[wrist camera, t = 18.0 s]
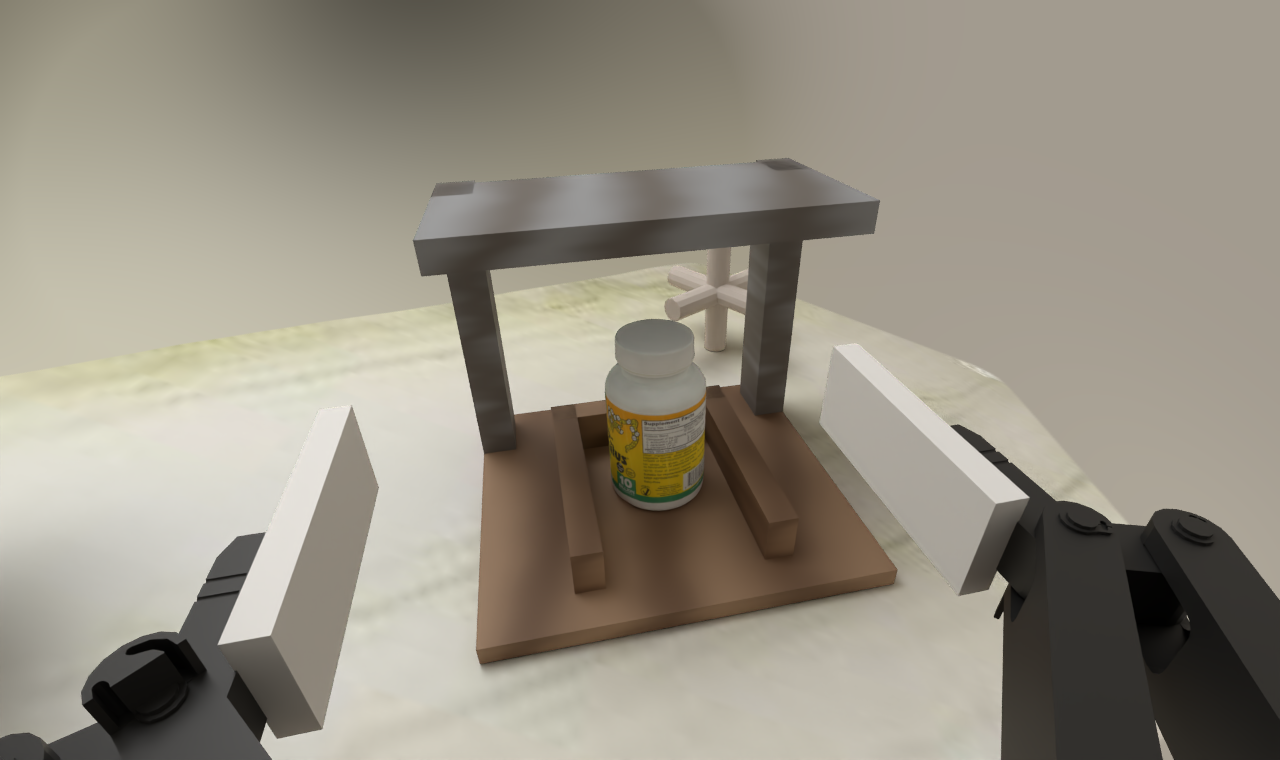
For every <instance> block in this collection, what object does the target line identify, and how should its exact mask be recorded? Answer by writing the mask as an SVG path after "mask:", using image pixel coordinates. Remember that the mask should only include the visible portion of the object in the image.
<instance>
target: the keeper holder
mask: <svg viewBox="0 0 1280 760" xmlns="http://www.w3.org/2000/svg"><path fill="white" fill-rule="evenodd" d="M879 203H880V200H878V199H876V198H874V197H871V196H869V195H867V194H865V193H863V192H861V191H859V190H856V189H854V188H852V187H850V186H848V185H845V184H843V183H841V182H839V181H837V180H835V179H833V178H830V177H828V176H826V175H824V174H822V173H820V172H818V171H815V170H813V169H811V168H809V167H807V166H805V165H802V164H800V163H798V162H796V161H794V160H792V159H789V158H782V159H769V160H756V162H753V163H739V164H725V165H711V166H698V167H684V168H670V169H657V170H644V171H643V170H642V171H629V172H615V173H601V174H587V175H574V176H561V177H560V176H559V177H546V178H532V179H519V180H504V181H490V182H477V183H475V181H462V182H448V183H437V184H436V186H435V188H434V191H433V193H432V196H431V198H430V200H429V203H428V205H427V208H426V210H425V213H424V215H423V217H422V220H421V223H420V225H419V227H418V230H417V232H416V234H415V237H414V239H413V242H414V247H415V251H416V255H417V259H418V264H419V268H420V273H421V276H431V275H441V274H447V277H448V282H449V287H450V291H451V296H452V301H453V306H454V311H455V315H456V320H457V325H458V330H459V335H460V340H461V344H462V349H463V354H464V359H465V364H466V368H467V373H468V378H469V383H470V388H471V393H472V397H473V402H474V407H475V412H476V417H477V422H478V426H479V431H480V436H481V441H482V446H483V450H484V471H483V495H482V519H481V544H480V568H479V592H478V617H477V641H476V651H477V655H478V659H479V662H480V664H483V663H488V662H493V661H499V660H504V659H509V658H514V657H519V656H524V655H529V654H535V653H540V652H545V651H550V650H555V649H560V648H565V647H571V646H576V645H581V644H586V643H591V642H596V641H601V640H607V639H612V638H617V637H622V636H627V635H632V634H637V633H643V632H648V631H653V630H658V629H663V628H668V627H674V626H679V625H684V624H689V623H694V622H699V621H704V620H710V619H715V618H720V617H725V616H730V615H735V614H740V613H746V612H751V611H756V610H761V609H766V608H771V607H776V606H782V605H787V604H792V603H797V602H802V601H807V600H812V599H818V598H823V597H828V596H833V595H838V594H843V593H848V592H854V591H859V590H864V589H869V588H874V587H879V586H885V585H890V584H894V580H895V577H896V573H897V568H896V567H895V566H894V564H893V563H892V562H891V560H890V559H889V557H888V556H887V555H886V553H885V552H884V550H883V549H882V548H881V546H880V545H879V544H878V542H877V541H876V539H875V538H874V537H873V535H872V534H871V533H870V531H869V530H868V528H867V527H866V526H865V524H864V523H863V522H862V520H861V519H860V517H859V516H858V515H857V513H856V512H855V511H854V509H853V508H852V506H851V505H850V504H849V502H848V501H847V500H846V498H845V497H844V495H843V494H842V493H841V491H840V490H839V489H838V487H837V486H836V484H835V483H834V482H833V480H832V479H831V478H830V476H829V475H828V473H827V472H826V471H825V469H824V468H823V467H822V465H821V464H820V462H819V461H818V460H817V458H816V457H815V456H814V454H813V453H812V451H811V450H810V449H809V447H808V446H807V444H806V443H805V442H804V440H803V439H802V438H801V436H800V435H799V433H798V432H797V431H796V429H795V428H794V427H793V425H792V424H791V422H790V421H789V420H788V418H787V417H786V416H785V414H784V413H783V404H784V396H785V387H786V379H787V370H788V361H789V353H790V344H791V336H792V327H793V319H794V310H795V301H796V293H797V284H798V276H799V267H800V258H801V249H802V241H803V240H810V239H821V238H832V237H843V236H853V235H864V234H874V231H875V225H876V220H877V214H878V208H879ZM747 245H750V256H749V270H748V284H747V299H746V313H745V327H744V342H743V356H742V370H741V384H740V385H735V386H728V387H720V386H719V385H716V386H708V387H706V414H705V440H704V475H703V483H702V487H701V489H700V490H699V492H698V494H697V495H696V496H695V497H694V498H693V499H692V500H691V501H689V502H688V503H686V504H684V505H682V506H680V507H677V508H674V509H670V510H662V511H652V510H645V509H641V508H638V507H636V506H633V505H632V504H630V503H628V502H627V501H625V500H624V499H623V498H621V497H620V496H619V495H618V494H617V492H616V491H615V489H614V487H613V484H612V478H611V466H610V453H609V437H608V424H607V410H606V400H602V401H595V402H587V403H579V404H572V405H564V406H557V407H551V410H546V411H539V412H531V413H524V414H516V415H514V412H513V406H512V400H511V394H510V388H509V382H508V376H507V370H506V364H505V358H504V352H503V346H502V340H501V334H500V328H499V322H498V316H497V310H496V304H495V298H494V292H493V287H492V280H491V274H490V270H495V269H505V268H516V267H526V266H536V265H547V264H558V263H568V262H579V261H590V260H600V259H611V258H621V257H632V256H642V255H652V254H663V253H674V252H684V251H695V250H706V249H716V248H727V247H737V246H747Z"/></svg>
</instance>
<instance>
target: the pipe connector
mask: <svg viewBox="0 0 1280 760" xmlns="http://www.w3.org/2000/svg"><path fill="white" fill-rule="evenodd" d="M707 252H708V253H707V275H704V274H701V273H699V272H696V271H693V270H690V269H688V268H685V267H682V266H679V265H675V266H673V267H672V268H671V269H670V271H669V272H668V277H667V278H668V283H669V284H671V285H672V286H675V287H677V288H680V289H682V290H685V291H687V292H685V293H683V294H680V295H677V296H675V297H672V298H669V299H668V300H667V301H666V302H665V306H664V307H665V312H666V314H667V316H668V318H670V319H671V320H672V321H678V320H680V319H683V318H685V317H688V316H690V315H693V314H695V313H698V312H700V311H702V310H705V309H706V311H705V341H704V347H705V348H706V349H707V350H709V351H722V350H724V349H725V347H726V330H727V312H728V308H729V309H732V310H734V311H737V312H739V313H742V314H744V315H745V313H746V299H747V284H748V270H749V269H746V270H744V271H741V272H738V273H736V274H733V275H730V276H729V274H730V256H731V247H727V248H716V249H708V250H707Z"/></svg>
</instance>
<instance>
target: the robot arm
mask: <svg viewBox="0 0 1280 760" xmlns="http://www.w3.org/2000/svg"><path fill="white" fill-rule="evenodd" d="M819 424H820V425H821V426H822V427H823V429H824V430H825V431H826V432H827V434H828V435H829V436H830V437H831V439H832V440H833V441H834V442H835V444H836V445H837V446H838V447H839V449H840V450H841V451H842V452H843V453H844V455H845V456H846V457H847V458H848V460H849V461H850V462H851V463H852V465H853V466H854V467H855V468H856V470H857V471H858V472H859V473H860V475H861V476H862V477H863V478H864V480H865V481H866V482H867V483H868V485H869V486H870V487H871V488H872V490H873V491H874V492H875V493H876V495H877V496H878V497H879V498H880V500H881V501H882V502H883V503H884V504H885V506H886V507H887V508H888V509H889V511H890V512H891V513H892V514H893V516H894V517H895V518H896V519H897V521H898V522H899V523H900V524H901V526H902V527H903V528H904V529H905V531H906V532H907V533H908V534H909V536H910V537H911V538H912V539H913V541H914V542H915V543H916V544H917V546H918V547H919V548H920V549H921V551H922V552H923V553H924V554H925V555H926V557H927V558H928V559H929V560H930V562H931V563H932V564H933V565H934V567H935V568H936V569H937V570H938V572H939V573H940V574H941V575H942V577H943V578H944V579H945V580H946V582H947V583H948V584H949V585H950V587H951V588H952V589H953V590H954V592H955V593H956V594H957V595H958V596H960V595H965V594H970V593H975V592H980V591H984V590H989V587H990V585H991V583H992V581H993V578H994V576H995V574H996V572H997V571H998V572H999V573H1000V574H1001V575H1002V576H1003V577H1004V578H1005V579H1006V581H1007V582H1008V583H1009V584H1008V586H1007V588H1006V590H1005V592H1004V594H1003V596H1002V599H1001V601H1000V603H999V605H998V607H997V609H996V612H995V614H994V618H997V619H999V618H1000V616H1001V614H1002V612H1004V627H1003V682H1002V737H1001V760H1163V759H1162V753H1161V748H1160V743H1159V738H1158V733H1157V728H1156V723H1157V725H1158V727H1159V729H1160V731H1161V733H1162V735H1163V737H1164V740H1165V742H1166V744H1167V746H1168V748H1169V750H1170V752H1171V754H1172V756H1173V758H1174V760H1280V600H1279V599H1278V598H1277V596H1276V595H1275V594H1274V593H1273V591H1272V590H1271V589H1270V587H1269V586H1268V585H1267V584H1266V582H1265V581H1264V579H1263V578H1262V577H1261V576H1260V574H1259V573H1258V572H1257V570H1256V569H1255V568H1254V567H1253V565H1252V564H1251V563H1250V561H1249V560H1248V559H1247V558H1246V556H1245V555H1244V554H1243V552H1242V551H1241V550H1240V549H1239V547H1238V546H1237V545H1236V543H1235V542H1234V541H1233V540H1232V538H1231V537H1230V536H1228V534H1227V533H1226V532H1225V531H1223V530H1222V529H1221V528H1220V527H1218V526H1217V525H1215V524H1214V523H1212V522H1210V521H1209V520H1207V519H1205V518H1203V517H1201V516H1198V515H1196V514H1193V513H1190V512H1186V511H1182V510H1177V509H1162V510H1159V511H1156V512H1155V513H1154V514H1153V516H1152V517H1151V519H1150V521H1149V522H1148V524H1147V526H1137V525H1125V524H1113V523H1111V522H1110V521H1109V520H1108V519H1107V518H1106V517H1105V516H1103V515H1102V514H1100V513H1098V512H1097V511H1095V510H1093V509H1092V508H1089V507H1086V506H1084V505H1081V504H1078V503H1074V502H1068V501H1055V500H1054V499H1053V498H1052V497H1051V496H1050V495H1048V494H1047V493H1046V492H1045V491H1044V490H1043V489H1042V488H1040V487H1039V486H1038V485H1037V484H1036V483H1035V482H1033V481H1032V480H1031V479H1030V478H1029V477H1028V476H1026V475H1025V474H1024V473H1023V472H1022V471H1021V470H1019V469H1018V468H1017V467H1016V466H1015V465H1014V464H1012V463H1009V462H1008V459H1007V458H1006V457H1004V456H1003V455H1002V454H1001V453H1000V452H996V450H995V448H994V447H993V446H992V445H990V444H989V443H988V442H987V441H986V440H985V439H983V438H982V437H981V436H980V435H978V434H976V433H974V432H972V431H970V430H968V429H967V428H965V427H963V426H961V425H952V426H949V425H948V424H947V423H946V422H945V421H944V420H943V419H941V418H940V417H939V416H938V415H937V414H936V413H935V412H934V411H933V410H931V409H930V408H929V407H928V406H927V405H926V404H925V403H924V402H922V401H921V400H920V399H919V398H918V397H917V396H916V395H915V394H914V393H912V392H911V391H910V390H909V389H908V388H907V387H906V386H905V385H904V384H902V383H901V382H900V381H899V380H898V379H897V378H896V377H895V376H894V375H892V374H891V373H890V372H889V371H888V370H887V369H886V368H885V367H883V366H882V365H881V364H880V363H879V362H878V361H877V360H876V359H875V358H873V357H872V356H871V355H870V354H869V353H868V352H867V351H866V350H865V349H863V348H862V347H861V346H860V345H859V344H858V343H853V344H845V345H837V346H833V349H832V355H831V360H830V366H829V372H828V377H827V383H826V388H825V394H824V399H823V405H822V410H821V416H820V422H819ZM378 488H379V487H378V484H377V481H376V478H375V475H374V472H373V469H372V466H371V463H370V460H369V457H368V454H367V450H366V447H365V444H364V441H363V438H362V435H361V432H360V429H359V426H358V423H357V420H356V417H355V414H354V411H353V408H352V405H348V406H340V407H331V408H323V409H319V410H318V412H317V415H316V417H315V419H314V422H313V424H312V426H311V429H310V431H309V433H308V436H307V438H306V440H305V443H304V445H303V447H302V450H301V452H300V454H299V457H298V459H297V461H296V464H295V466H294V468H293V471H292V473H291V475H290V478H289V480H288V482H287V485H286V487H285V489H284V492H283V494H282V496H281V498H280V501H279V503H278V505H277V508H276V510H275V512H274V515H273V517H272V519H271V522H270V524H269V526H268V529H267V531H266V532H264V533H258V534H251V535H245V536H238V537H237V538H236V539H235V540H234V541H233V542H232V543H231V544H230V545H229V546H228V547H227V548H226V549H225V550H224V551H223V552H222V553H221V554H220V555H219V556H218V557H217V558H216V560H215V562H214V564H213V566H212V568H211V570H210V572H209V574H208V576H207V578H206V583H205V584H203V586H202V588H201V590H200V592H199V594H198V596H197V602H194V604H193V606H192V608H191V610H190V612H189V614H188V616H187V618H186V620H185V622H184V624H183V626H182V628H181V630H180V632H179V634H178V633H176V632H157V633H153V634H149V635H145V636H142V637H140V638H138V639H136V640H134V641H131V642H129V643H127V644H125V645H123V646H121V647H120V648H119V649H117V650H116V651H115V652H113V653H112V654H111V655H109V656H108V657H107V658H105V659H104V660H103V661H102V662H101V663H100V664H99V665H98V666H97V668H96V669H95V670H94V671H93V672H92V673H91V674H90V675H89V677H88V679H87V681H86V683H85V685H84V687H83V689H82V691H81V695H82V705H83V707H84V708H85V709H86V710H87V711H88V712H89V713H90V714H91V715H92V716H93V718H94V719H95V720H96V721H97V722H98V723H96V724H93V725H91V726H89V727H87V728H84V729H82V730H80V731H77V732H75V733H73V734H71V735H68V736H66V737H64V738H61V739H59V740H57V741H55V742H52V743H50V744H48V745H47V744H46V743H45V742H44V741H43V740H42V739H41V738H39V737H37V736H35V735H33V734H30V733H21V734H10V735H8V736H5V737H2V738H0V760H272V759H271V758H270V756H269V755H268V753H267V752H266V751H265V749H264V748H263V747H262V745H261V744H260V740H261V737H262V734H263V731H264V728H265V724H266V722H267V724H268V725H269V727H270V729H271V730H272V732H273V733H274V735H275V736H276V738H277V739H278V738H283V737H287V736H292V735H297V734H302V733H307V732H311V731H316V730H321V729H322V728H323V724H324V720H325V716H326V711H327V707H328V703H329V698H330V694H331V690H332V686H333V681H334V677H335V673H336V668H337V664H338V660H339V656H340V651H341V647H342V643H343V638H344V634H345V630H346V626H347V621H348V617H349V613H350V608H351V604H352V600H353V596H354V591H355V587H356V583H357V578H358V574H359V570H360V566H361V561H362V557H363V553H364V548H365V544H366V540H367V536H368V531H369V527H370V523H371V518H372V514H373V510H374V506H375V501H376V497H377V493H378ZM1186 616H1188V618H1189V620H1188V618H1187V617H1186ZM1189 621H1190V622H1189ZM1155 720H1156V723H1155Z"/></svg>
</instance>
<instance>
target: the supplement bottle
mask: <svg viewBox="0 0 1280 760" xmlns="http://www.w3.org/2000/svg"><path fill="white" fill-rule="evenodd" d="M694 356H695V353H694V334H693V332H692V331H691V329H690V328H688V327H687V326H685V325H683V324H681V323H678V322H675V321H671V320H663V319H646V320H640V321H636V322H632V323H629V324H627V325H625V326H623V327H622V328H620V329H619V330H618V331H617V333H616V335H615V357H616V360H617V361H618V363H617V364H616V365H615V366H614V367H613V368H612V369H611V371H610V372H609V374H608V376H607V378H606V383H605V399H606V410H607V424H608V437H609V453H610V466H611V478H612V484H613V487H614V489H615V491H616V492H617V494H618V495H619V496H620V497H621V498H623V499H624V500H625V501H627V502H628V503H630V504H632V505H633V506H636V507H638V508H641V509H645V510H652V511H662V510H670V509H674V508H677V507H680V506H682V505H684V504H686V503H688V502H689V501H691V500H692V499H693V498H694V497H695V496H696V495H697V494H698V492H699V490H700V489H701V487H702V483H703V475H704V440H705V414H706V381H705V377H704V375H703V373H702V371H701V370H700V368H699V367H698V366H697V365H696V364H695V363H693V359H694Z"/></svg>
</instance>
